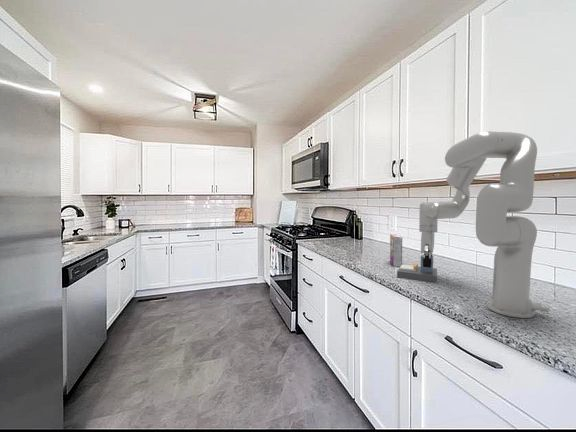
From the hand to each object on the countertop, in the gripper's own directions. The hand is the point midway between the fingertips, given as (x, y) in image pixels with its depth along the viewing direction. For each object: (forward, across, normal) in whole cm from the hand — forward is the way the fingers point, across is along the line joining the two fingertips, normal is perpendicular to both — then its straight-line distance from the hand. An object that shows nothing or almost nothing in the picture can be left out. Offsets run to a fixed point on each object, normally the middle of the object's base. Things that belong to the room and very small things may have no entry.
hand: (427, 264), depth 129 cm
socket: (+6, 0, -4) cm, 8 cm away
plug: (+4, 0, 0) cm, 5 cm away
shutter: (+3, 0, -8) cm, 9 cm away
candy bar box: (+6, -18, -18) cm, 26 cm away
